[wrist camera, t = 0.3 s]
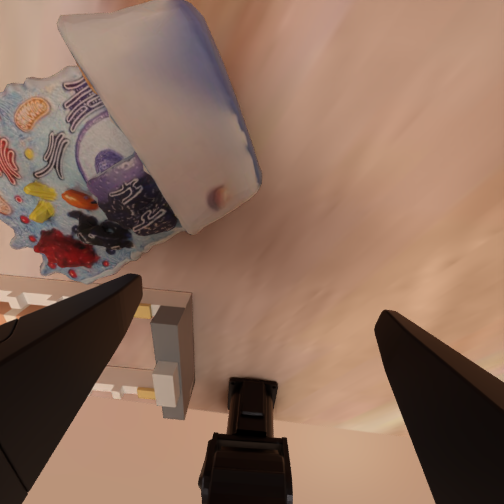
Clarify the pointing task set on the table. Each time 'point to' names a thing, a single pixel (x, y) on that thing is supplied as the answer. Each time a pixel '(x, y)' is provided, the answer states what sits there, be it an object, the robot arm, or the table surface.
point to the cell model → (123, 141)
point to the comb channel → (163, 333)
